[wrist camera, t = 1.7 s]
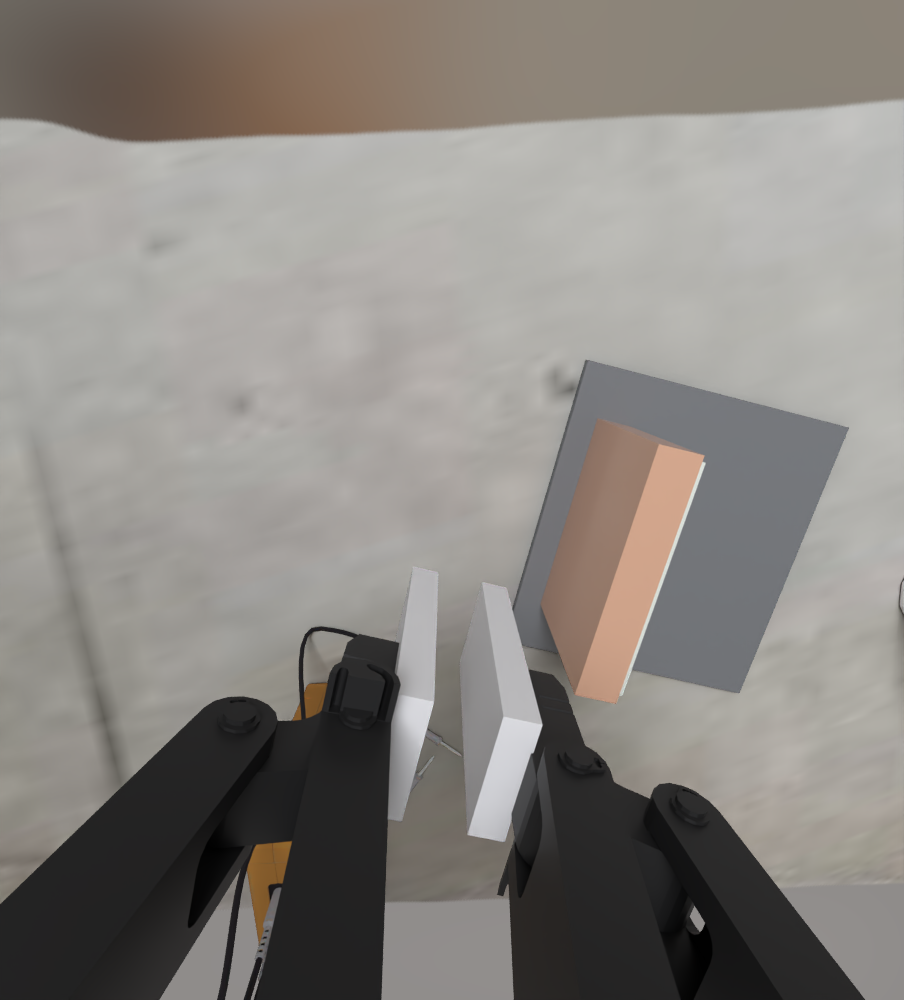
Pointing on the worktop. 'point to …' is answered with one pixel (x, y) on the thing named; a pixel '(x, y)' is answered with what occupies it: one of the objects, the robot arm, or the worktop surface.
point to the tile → (616, 553)
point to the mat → (697, 518)
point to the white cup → (902, 597)
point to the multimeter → (280, 848)
